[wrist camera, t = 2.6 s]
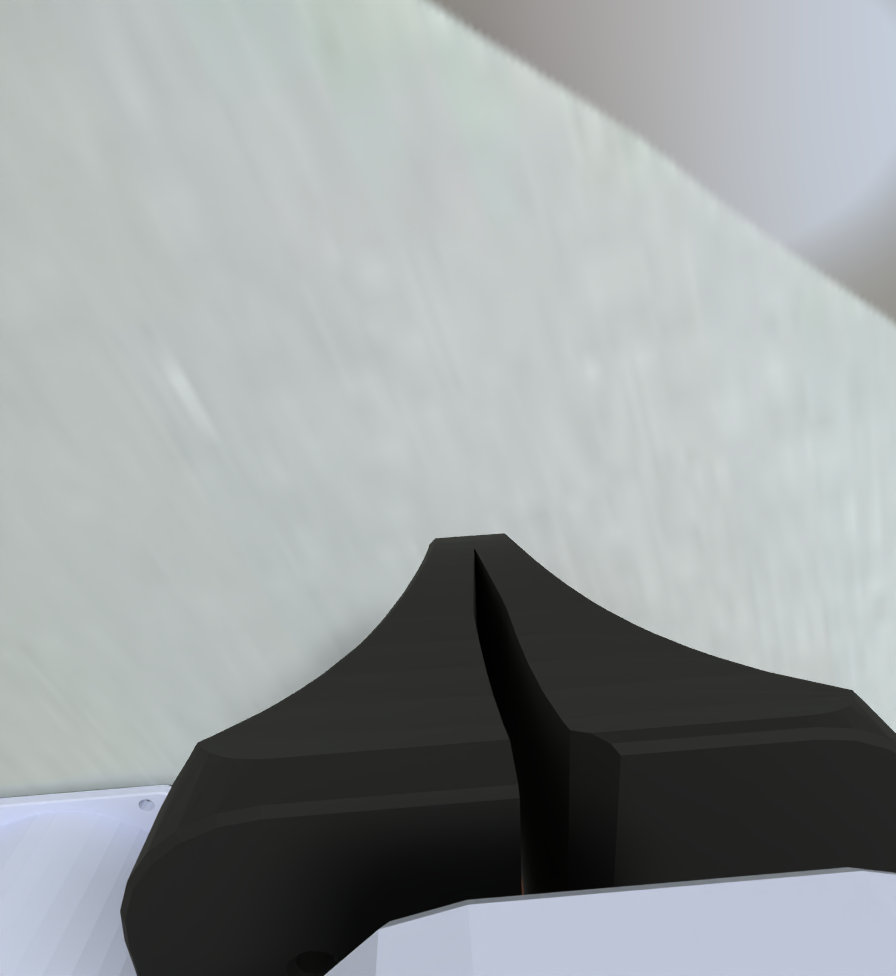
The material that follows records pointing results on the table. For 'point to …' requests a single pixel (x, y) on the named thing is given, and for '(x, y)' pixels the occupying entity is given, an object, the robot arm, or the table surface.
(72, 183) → the table surface
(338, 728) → the robot arm
